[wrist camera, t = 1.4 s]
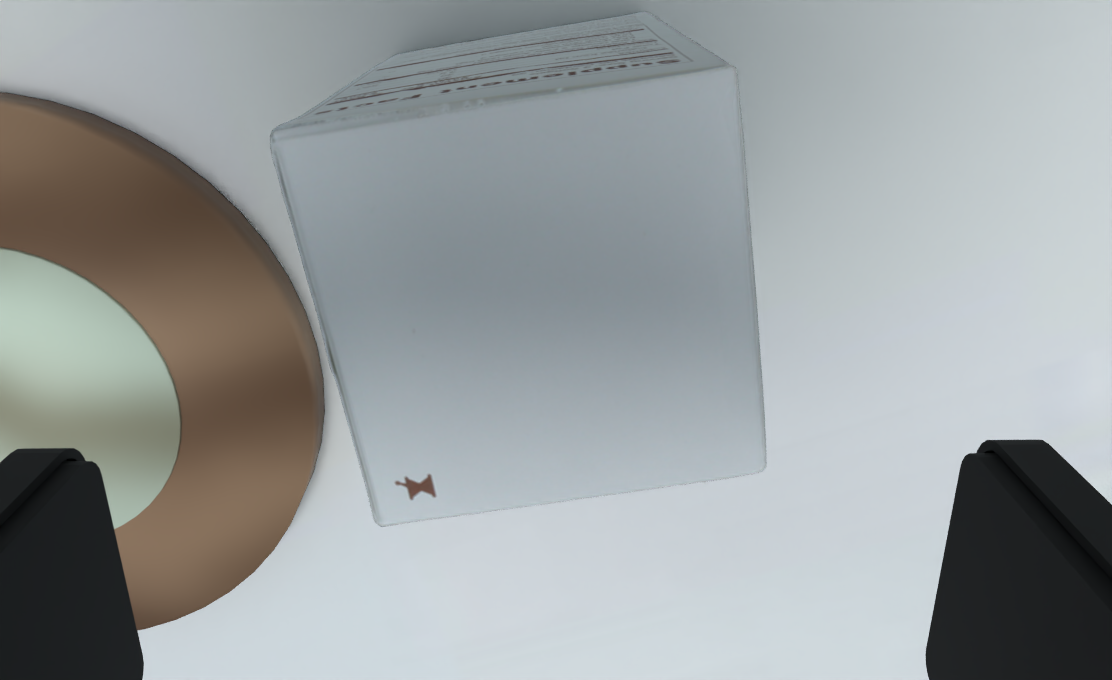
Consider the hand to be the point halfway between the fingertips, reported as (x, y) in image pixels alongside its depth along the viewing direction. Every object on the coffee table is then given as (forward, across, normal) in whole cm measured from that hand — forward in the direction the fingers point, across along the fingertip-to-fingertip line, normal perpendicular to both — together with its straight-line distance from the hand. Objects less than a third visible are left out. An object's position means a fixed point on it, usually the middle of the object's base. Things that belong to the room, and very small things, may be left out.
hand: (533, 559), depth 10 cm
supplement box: (+18, 0, -1) cm, 18 cm away
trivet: (+18, +16, +6) cm, 25 cm away
